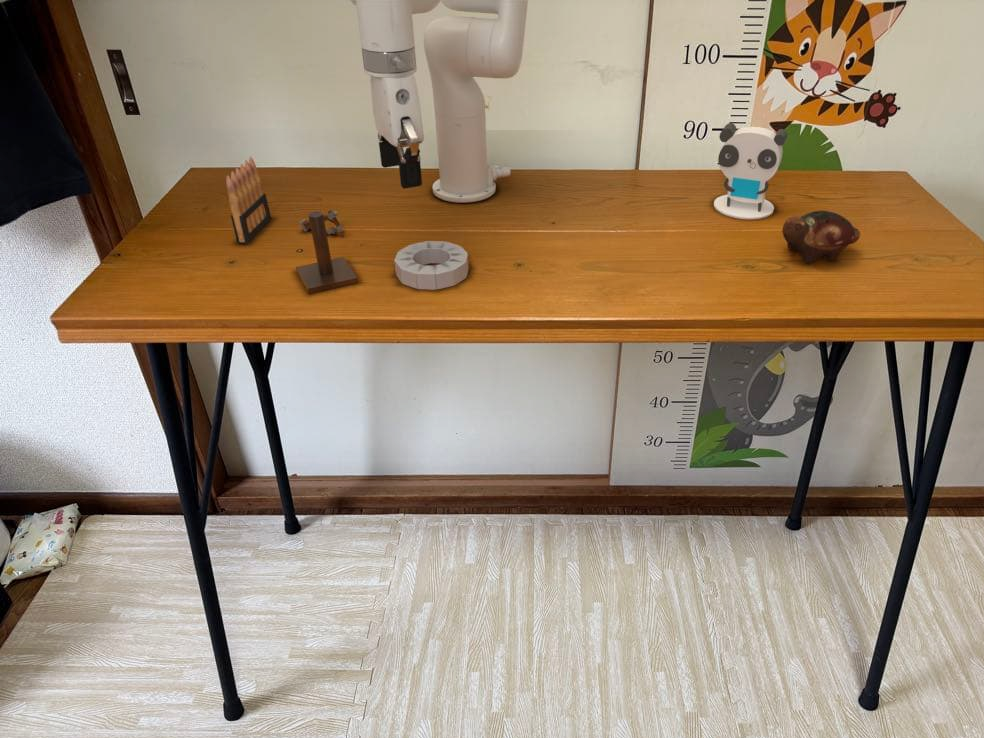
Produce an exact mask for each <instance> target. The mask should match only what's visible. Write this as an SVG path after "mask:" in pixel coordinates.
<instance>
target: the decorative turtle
mask: <svg viewBox="0 0 984 738" xmlns="http://www.w3.org/2000/svg"><path fill="white" fill-rule="evenodd" d="M781 232H782V236H783V238H784V240H785V241H786V246H787V250H788V252H790V253H797V252H799V254H800V256H801V257H802V260H803V262H804V263H805V264H806V265H810V264H811V265H812V264H813V263H815V262H816V261H817V260H819V259H820V258H821V257H824V258H825V259H826V261H828V262H834V261H835V260H836V259H837V258H838V257H839V256H840V255H841V254H842V252H843V251H844V250H845V249H846V248H847V247H848V246H850V245H853V244H855V243H856V242H857V241H858V240H859V239H860V237H861V232H860V230H859V229H858V228H857V227H854V226H853V224H852V223H851V222H850V220H848V219H847V218H846V217H844V216H842V215H840V214H838V213H837V212H833V211H827V210H815V211H811V212H808V213H805V214H803V215H801V216H798V215H793V216H790V217H788V218H787V219H786V221H784V223H783V226H782V229H781Z"/></svg>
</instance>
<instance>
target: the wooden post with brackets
mask: <svg viewBox="0 0 984 738" xmlns="http://www.w3.org/2000/svg"><path fill="white" fill-rule="evenodd" d="M338 214H339V212H338V211H336V210H331V209H329V210H327V213H326V214H323V216H324V222H326V221H329V222H330V223H331V224H334V226H332V227H328V228H326V233H327V235H331V234H333V235H334V234H335V233H336V232H337V231H338V233H340V235H343V234H344V233H345V230H344V228H343V226H342V224H341V223H340V222H339V220H338V218H337V216H338ZM299 224H300V226H301V228H302V229H303V232H304V233H306V232H307V231H309V230H311V226H310V221H309V219H307V218H304V219H302V221H300V222H299Z"/></svg>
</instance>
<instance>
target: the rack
mask: <svg viewBox="0 0 984 738" xmlns="http://www.w3.org/2000/svg"><path fill="white" fill-rule="evenodd" d="M323 215H324V212H322V211H319V210H315V211H311V212H309V213H308V221H310V226H311V228H310V230H311V236H312V241H313V246H314V252H315V258H316V262H313V263H308V264H304V265H298V266H296V267H295V270H296V273H297V275H298V277H299V278H300V281H301V282H302V284H303V287H304V288H305V290H306V291H307V293H308V295H310V294H311V295H312V294H315V293H319V292H323V291H329V290H332V289H336V288H337V289H338V288H342V287H346V286H351V285H355V284H359V278H358V276H357V274H356V273H355V272H354V269H353V268H352V267H351V265H350V264H349V263H348V261H347V260H346V258H345V257H344V256H341V257H336V258H332V256H331V251H330V246H329V245H330V244H329V239H328V233H326V231H327V227H326V223H325V222H326V221H325V222H324V216H323Z"/></svg>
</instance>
